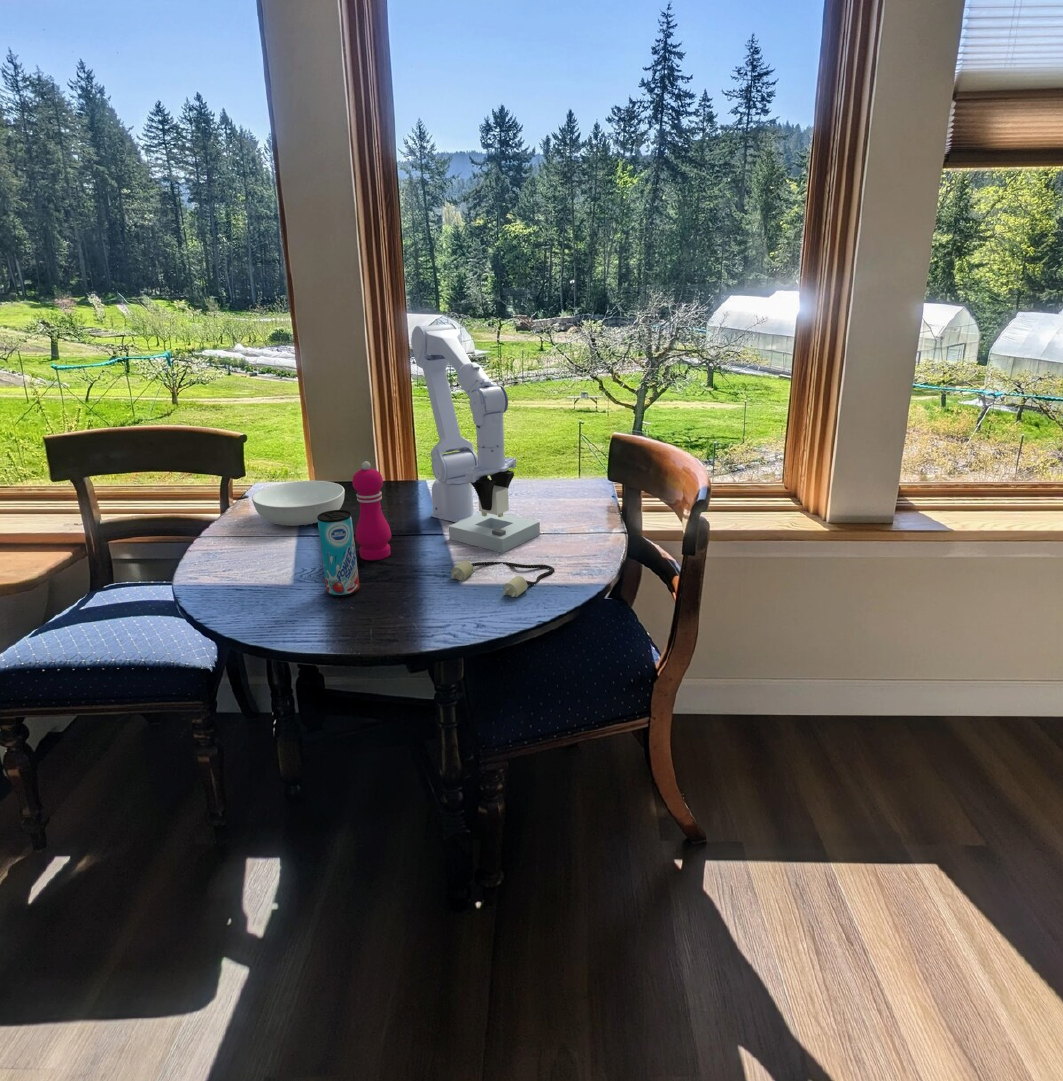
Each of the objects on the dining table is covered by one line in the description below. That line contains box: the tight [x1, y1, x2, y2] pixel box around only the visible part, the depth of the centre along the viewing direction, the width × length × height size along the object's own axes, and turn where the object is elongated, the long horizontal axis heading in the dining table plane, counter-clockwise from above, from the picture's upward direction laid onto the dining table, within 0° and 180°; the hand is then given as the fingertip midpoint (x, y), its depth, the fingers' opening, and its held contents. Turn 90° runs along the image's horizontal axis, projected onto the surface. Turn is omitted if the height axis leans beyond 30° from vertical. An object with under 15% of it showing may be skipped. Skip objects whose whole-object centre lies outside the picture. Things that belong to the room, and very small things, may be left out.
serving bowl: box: [251, 480, 346, 527], centre depth 178 cm, size 21×21×7 cm
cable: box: [450, 559, 556, 598], centre depth 144 cm, size 16×16×4 cm
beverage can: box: [317, 509, 360, 598], centre depth 137 cm, size 6×6×15 cm
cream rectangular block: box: [477, 485, 510, 517], centre depth 162 cm, size 5×4×6 cm
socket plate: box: [448, 512, 541, 554], centre depth 164 cm, size 15×13×4 cm
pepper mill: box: [352, 460, 392, 561], centre depth 153 cm, size 7×7×20 cm
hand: (493, 506), depth 162 cm, fingers closed on cream rectangular block, 4 cm apart
